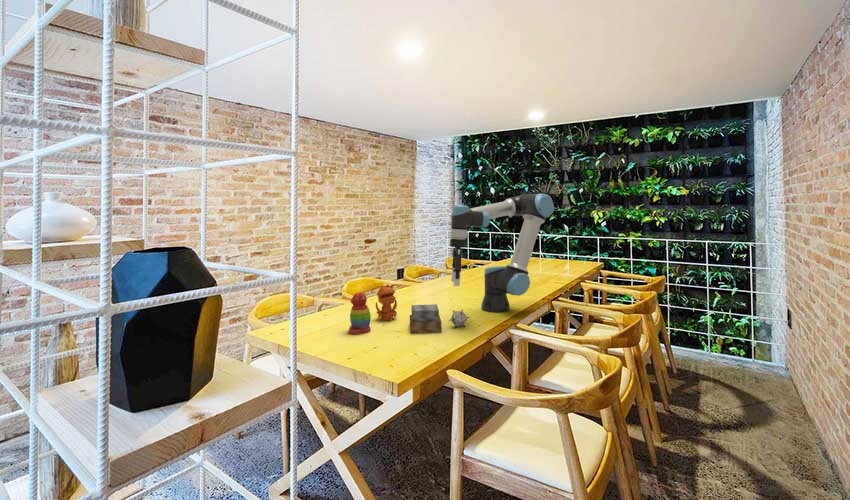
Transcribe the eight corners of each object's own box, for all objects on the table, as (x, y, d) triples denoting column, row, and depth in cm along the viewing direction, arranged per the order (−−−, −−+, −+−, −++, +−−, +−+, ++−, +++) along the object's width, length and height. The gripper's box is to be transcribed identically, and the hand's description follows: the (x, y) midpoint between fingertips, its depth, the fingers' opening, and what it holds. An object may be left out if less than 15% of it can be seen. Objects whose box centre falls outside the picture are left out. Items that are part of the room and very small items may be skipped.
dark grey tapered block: (438, 324, 208) (438, 303, 207) (441, 332, 196) (441, 310, 194) (409, 325, 208) (409, 304, 206) (410, 333, 195) (409, 311, 194)
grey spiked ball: (462, 335, 202) (467, 322, 196) (445, 328, 204) (450, 315, 197) (467, 322, 209) (472, 308, 202) (451, 315, 210) (455, 301, 204)
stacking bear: (349, 327, 205) (348, 290, 203) (371, 327, 206) (370, 290, 204) (347, 335, 194) (346, 295, 192) (370, 334, 195) (369, 295, 193)
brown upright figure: (381, 323, 211) (380, 287, 209) (372, 318, 221) (371, 283, 219) (401, 320, 216) (401, 284, 214) (393, 315, 226) (392, 281, 224)
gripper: (448, 236, 215) (445, 279, 217) (452, 239, 190) (449, 287, 192) (463, 237, 215) (460, 280, 217) (469, 240, 190) (466, 288, 192)
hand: (455, 283), depth 204 cm, fingers open, 13 cm apart
